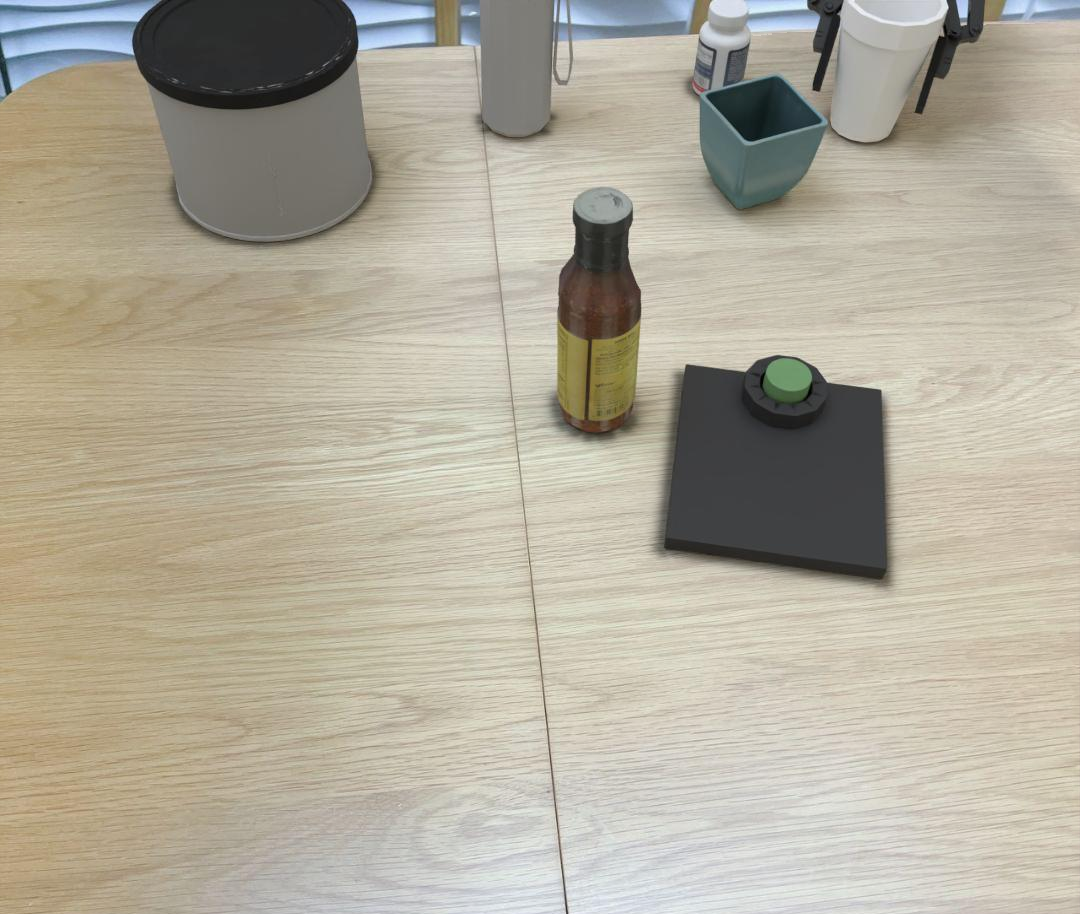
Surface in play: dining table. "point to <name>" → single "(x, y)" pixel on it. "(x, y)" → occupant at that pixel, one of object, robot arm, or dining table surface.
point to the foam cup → (880, 62)
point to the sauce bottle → (598, 315)
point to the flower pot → (758, 138)
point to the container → (258, 112)
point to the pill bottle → (722, 46)
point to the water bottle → (519, 63)
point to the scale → (779, 473)
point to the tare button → (787, 381)
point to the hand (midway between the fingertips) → (867, 98)
